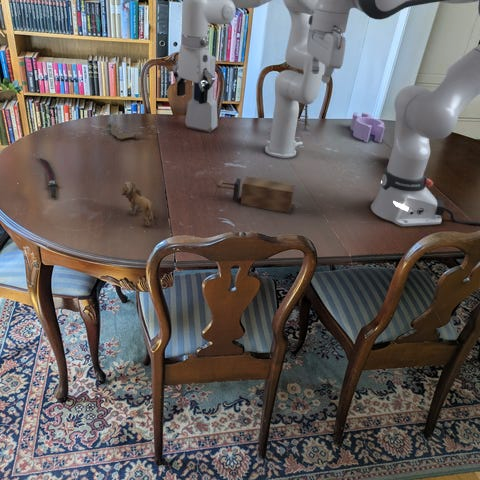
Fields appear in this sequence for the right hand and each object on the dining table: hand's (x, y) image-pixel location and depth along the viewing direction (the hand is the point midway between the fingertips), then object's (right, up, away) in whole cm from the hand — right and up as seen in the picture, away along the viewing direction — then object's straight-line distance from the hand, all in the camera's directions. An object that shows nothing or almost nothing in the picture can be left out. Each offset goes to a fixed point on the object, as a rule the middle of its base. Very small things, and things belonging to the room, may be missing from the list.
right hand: (319, 77), depth 128 cm
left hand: (-37, 0, +20) cm, 42 cm away
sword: (-84, -24, +23) cm, 91 cm away
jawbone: (-69, 0, +63) cm, 93 cm away
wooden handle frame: (-19, -32, +22) cm, 43 cm away
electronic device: (-39, +4, +74) cm, 84 cm away
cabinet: (-14, -33, +21) cm, 42 cm away
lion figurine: (-51, -38, +8) cm, 64 cm away
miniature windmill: (+5, +8, +89) cm, 90 cm away
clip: (+36, +4, +88) cm, 95 cm away
